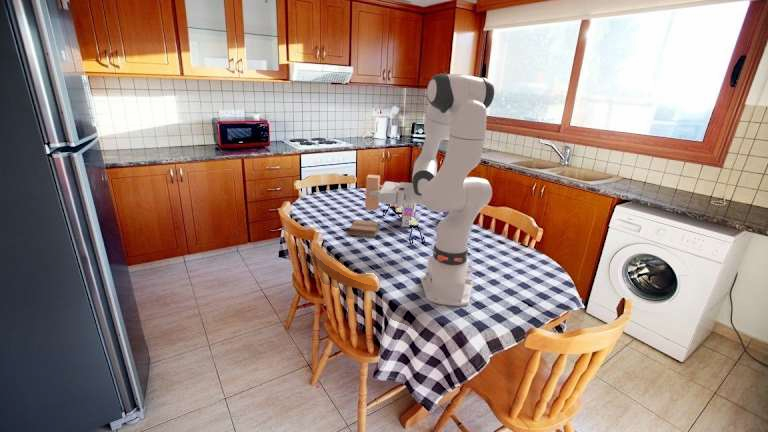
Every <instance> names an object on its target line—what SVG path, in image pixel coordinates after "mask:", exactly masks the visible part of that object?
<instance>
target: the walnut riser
mask: <svg viewBox="0 0 768 432" xmlns="http://www.w3.org/2000/svg"><path fill="white" fill-rule="evenodd" d="M379 224H380V222H378V221H370V220H369V221H367V220H357V219H354V221H353V222H352V224H351V225H350V227H349V230H348V231H349V233H348V235H349V236H359V237H366V238H367V237H370V238H375V237H376V235H377V233H378V231H379V226H380V225H379Z"/></svg>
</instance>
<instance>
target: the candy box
mask: <svg viewBox="0 0 768 432" xmlns="http://www.w3.org/2000/svg"><path fill="white" fill-rule="evenodd" d="M417 208H418V204H404V205H402V212H401V225H400V226H401V228H406V229H407V228H409V224H408V220H409V218H410V217H413V218H415V219H416V218H417ZM416 220H417V219H416ZM409 229H410V228H409Z"/></svg>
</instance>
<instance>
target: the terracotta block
mask: <svg viewBox="0 0 768 432" xmlns="http://www.w3.org/2000/svg"><path fill="white" fill-rule="evenodd" d="M365 180H366V181H365V204H364V205H365V206H364V208H365V210H367V211H378V208H379V203H380V202H379V201H378V197H377V196H374V195H370V194H369V191H370V190H374V191H380V190H379V189H380V185H381V184H380V183H381V175H378V174H367V176H366V177H365Z"/></svg>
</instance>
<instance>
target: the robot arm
mask: <svg viewBox="0 0 768 432" xmlns="http://www.w3.org/2000/svg"><path fill="white" fill-rule="evenodd" d="M426 97H427V101H428V106H427V110H426V112H425V117H424V124H423V132H424V135H425V137H424V140H423V143H422V148H421V151H420V152H419V154H418V155H416V157H415V158H414V161H413V169H412V170H413V171H412V177H411V182H405V181H404V182H403V181H401V182H394V181H384V183H383V185H382V184H380V189H379V191H374V190H370V191H369V194H370V195H374V196H377V197H378V201H379V203H382V204H389V205H396V206H398V207H403V205H404V204H417V206H424V207H425V208H426V210H428V211H431V212H437V213H443V212H449V211H450V212H449V213H448V215H447V216H446V217H444V218H442V219H441V220H440V221H439V222H438V224H437V226H436V235H435V243H434V245H433V249H432V251H433V252H432V256H430V257H429V258H428V260H427V266H426V273H425V275H421V277H420V282H421V285H422V289H423V292H424V295H425V296H424V297H425V298H426V300H427V301H429V302H431V303H435V304H439V305H444V306H453V307H462V306H463V307H464V306H467V305H469V304H470V299H471V297H472V296H471V295H472V291H473V286H474V282H473V281H472V278H470V277H469V275H471V271H472V270H471V269H470V265H471V263H470V262H469V261H468V254H469V250H468V249H469V248H468V243H469V238H470V233H471V232H470V231H471V228H472V226H473V224H474V222H475V219H476V218H477V216H478V215H479V213H480V212H481V211H482V209H483V208H485V207H486V205H488V204H489V203H490V201H491V199H492V197H493V188H492V186H491V184H490V182H489V181H488V180H487V179H486V178H482V177H476V176H468V175H469V174H470V173H471V171H472V170H473V169H475V168H476V167H478V165H479V164H480V162H481V160H482V155H483V148H484V144H485V138H486V134H487V133H486V131H487V121H488V120H487V119H488V118H487V109H488V108H489V107H490V106H491V104H492V103H493V100H494V97H495V87H494V84H493V82H492V81H491V80H490V79H488V78H487V77H483V76H473V75H468V74H464V73H448V74H447V73H438V74H434V75H433V76H432V77H431V78H430V80H429V82H428V84H427V87H426ZM447 139H448V141H447V146H446V152H445V156H444V159H443V162H442V164H441V166H440V168H439V170H438V164H439V163H438V162H439V161H438V158H437V155H438V151H439V147H440V144H441V141H444V140H447ZM437 170H438V171H437Z"/></svg>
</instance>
